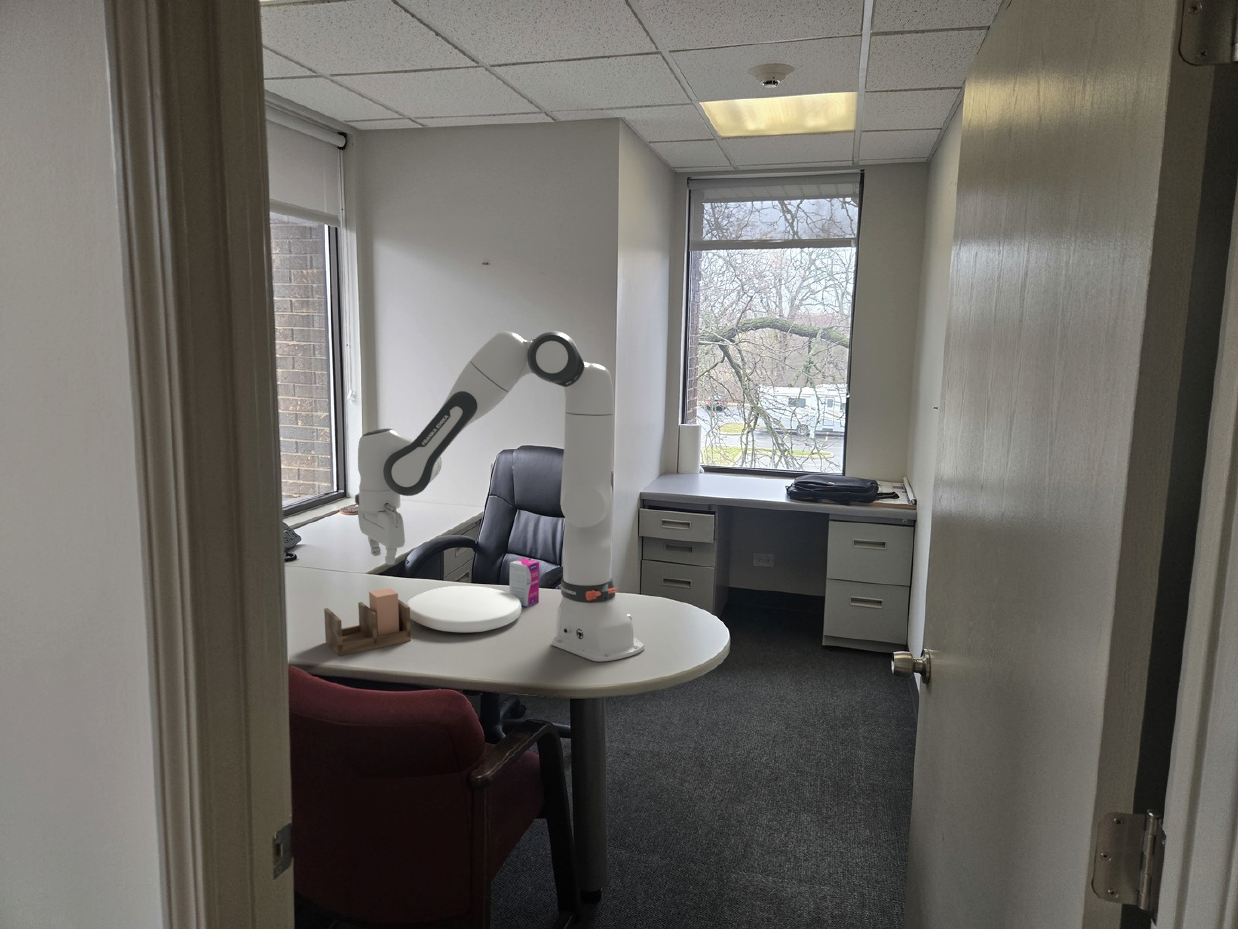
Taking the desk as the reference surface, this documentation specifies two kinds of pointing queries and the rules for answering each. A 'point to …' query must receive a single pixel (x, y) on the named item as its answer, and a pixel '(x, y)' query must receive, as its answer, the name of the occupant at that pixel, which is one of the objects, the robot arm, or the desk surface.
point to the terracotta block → (385, 610)
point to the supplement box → (525, 581)
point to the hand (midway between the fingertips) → (383, 559)
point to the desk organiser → (364, 631)
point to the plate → (464, 608)
